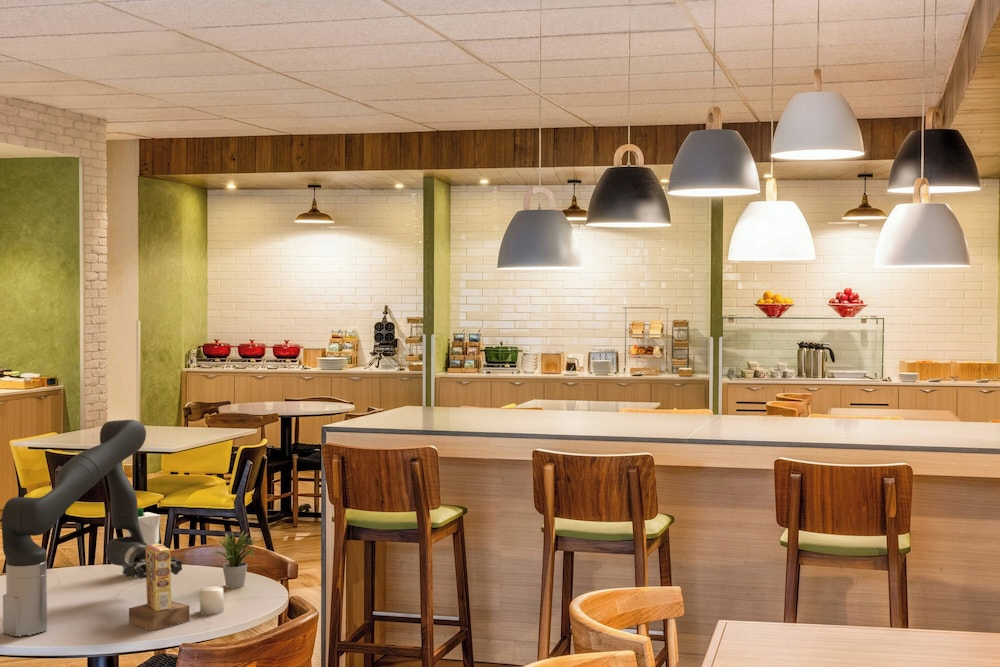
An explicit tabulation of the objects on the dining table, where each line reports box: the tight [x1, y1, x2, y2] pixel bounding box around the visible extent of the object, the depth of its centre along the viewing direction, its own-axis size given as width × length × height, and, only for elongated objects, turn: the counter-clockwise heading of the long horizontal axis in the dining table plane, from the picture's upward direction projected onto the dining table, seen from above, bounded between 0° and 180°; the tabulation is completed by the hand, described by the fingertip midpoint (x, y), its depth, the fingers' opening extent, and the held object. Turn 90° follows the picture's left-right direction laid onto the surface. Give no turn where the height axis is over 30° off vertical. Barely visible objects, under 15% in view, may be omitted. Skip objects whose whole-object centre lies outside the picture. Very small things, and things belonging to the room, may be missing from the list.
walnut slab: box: [128, 600, 190, 631], centre depth 288 cm, size 11×10×4 cm
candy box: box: [145, 543, 172, 611], centre depth 288 cm, size 9×4×15 cm, turn 33°
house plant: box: [212, 529, 263, 588], centre depth 326 cm, size 14×14×16 cm
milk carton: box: [126, 507, 162, 577], centre depth 342 cm, size 9×9×20 cm
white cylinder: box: [199, 585, 224, 615], centre depth 299 cm, size 6×6×6 cm
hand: (160, 572), depth 287 cm, fingers open, 8 cm apart
